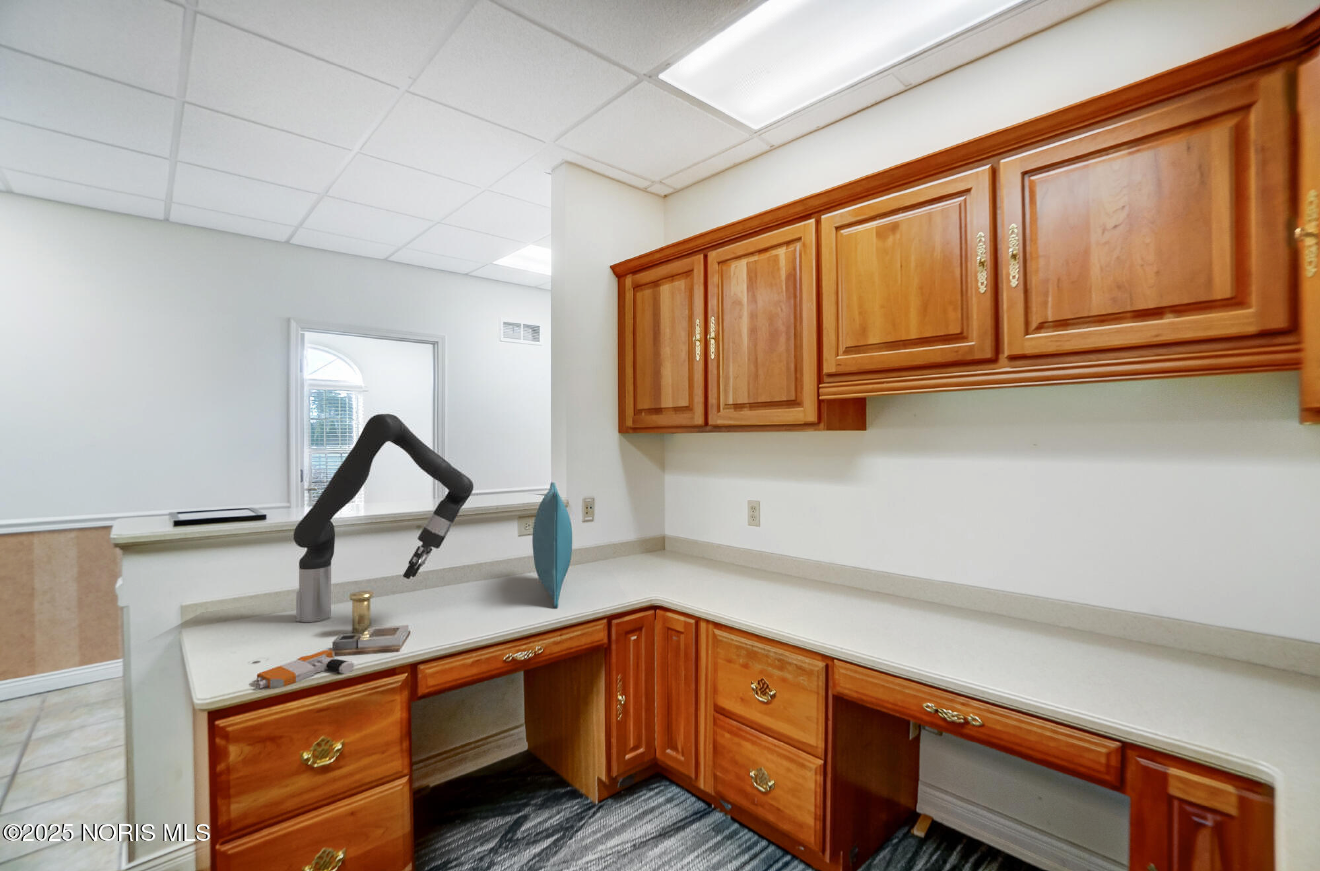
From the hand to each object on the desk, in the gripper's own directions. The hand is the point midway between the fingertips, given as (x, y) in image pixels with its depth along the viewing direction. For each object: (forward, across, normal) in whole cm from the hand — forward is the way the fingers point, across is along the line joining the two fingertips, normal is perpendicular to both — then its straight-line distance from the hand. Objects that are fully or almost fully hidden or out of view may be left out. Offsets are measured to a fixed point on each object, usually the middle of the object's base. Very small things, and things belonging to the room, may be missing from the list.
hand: (408, 577), depth 184 cm
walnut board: (+19, +12, +2) cm, 23 cm away
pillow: (-13, -33, +46) cm, 58 cm away
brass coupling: (+20, 0, -4) cm, 21 cm away
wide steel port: (+18, +12, +6) cm, 22 cm away
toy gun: (+28, +32, -5) cm, 43 cm away
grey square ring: (+22, +15, -2) cm, 27 cm away
